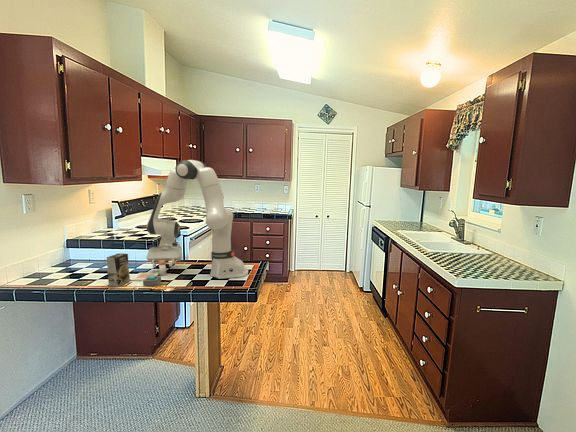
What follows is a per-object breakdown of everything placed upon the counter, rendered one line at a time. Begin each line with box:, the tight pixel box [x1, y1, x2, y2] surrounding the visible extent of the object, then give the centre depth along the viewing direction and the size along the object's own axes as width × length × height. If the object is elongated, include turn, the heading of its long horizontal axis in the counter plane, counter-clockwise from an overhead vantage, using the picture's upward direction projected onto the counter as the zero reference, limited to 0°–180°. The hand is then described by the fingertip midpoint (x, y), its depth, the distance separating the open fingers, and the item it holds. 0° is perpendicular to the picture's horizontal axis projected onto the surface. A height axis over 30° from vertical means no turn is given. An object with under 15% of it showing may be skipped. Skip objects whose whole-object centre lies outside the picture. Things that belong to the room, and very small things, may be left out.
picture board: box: [130, 271, 160, 282], centre depth 182 cm, size 12×12×1 cm
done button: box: [148, 275, 156, 280], centre depth 171 cm, size 4×4×2 cm
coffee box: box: [106, 253, 131, 288], centre depth 171 cm, size 9×6×16 cm
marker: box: [158, 260, 167, 277], centre depth 185 cm, size 4×4×9 cm
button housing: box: [142, 275, 162, 287], centre depth 171 cm, size 7×7×3 cm
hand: (162, 266), depth 184 cm, fingers open, 8 cm apart
